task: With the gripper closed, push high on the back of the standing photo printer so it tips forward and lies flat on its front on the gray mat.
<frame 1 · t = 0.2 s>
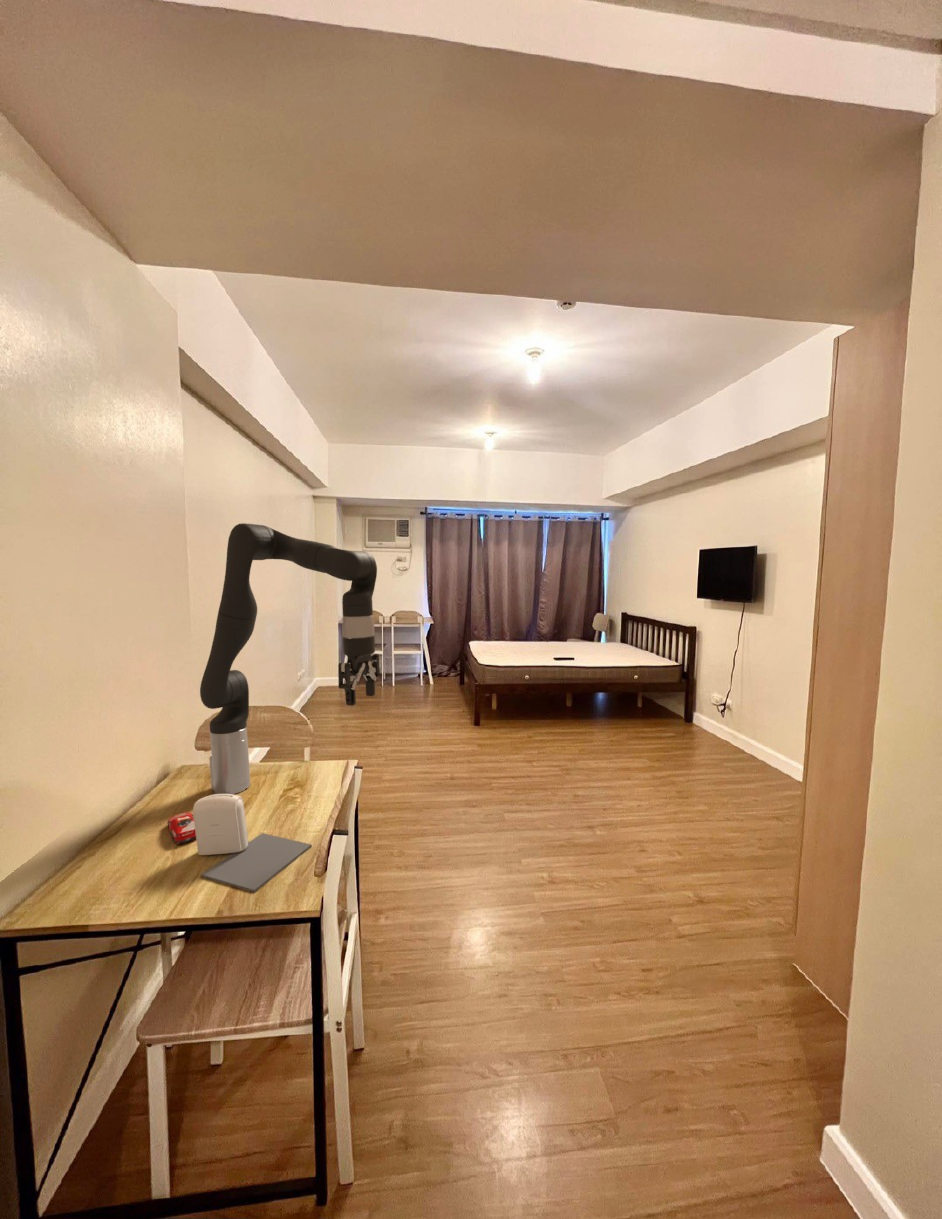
hand: (361, 700, 117), 29 cm above the table, tool pointing down, fingers open, 8 cm apart
race car: (184, 833, 113), on the table
gray mat: (258, 861, 101), on the table
photo printer: (223, 851, 104), on the table, touching gray mat
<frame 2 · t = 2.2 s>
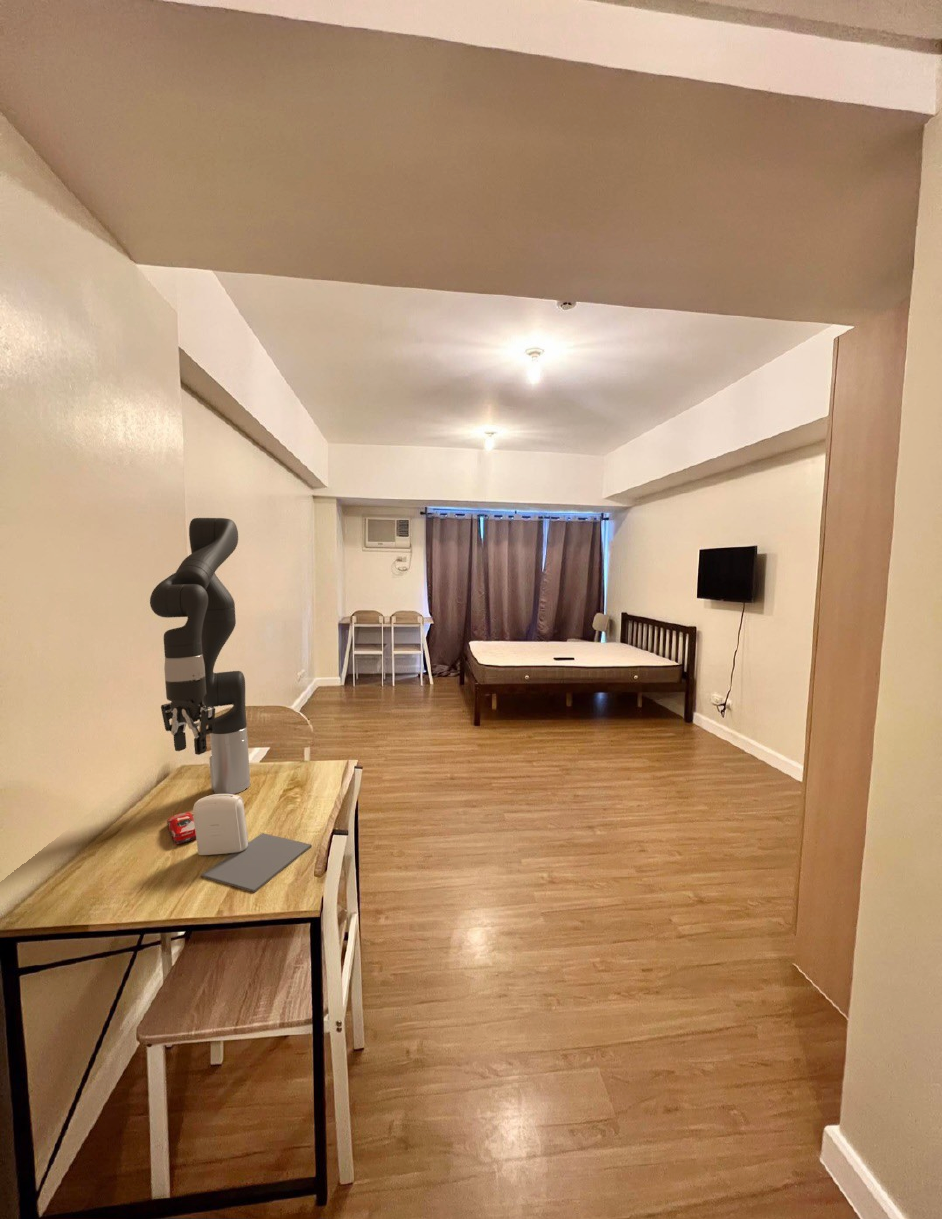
hand: (190, 751, 105), 21 cm above the table, tool pointing down, fingers open, 5 cm apart
nothing on the table moved.
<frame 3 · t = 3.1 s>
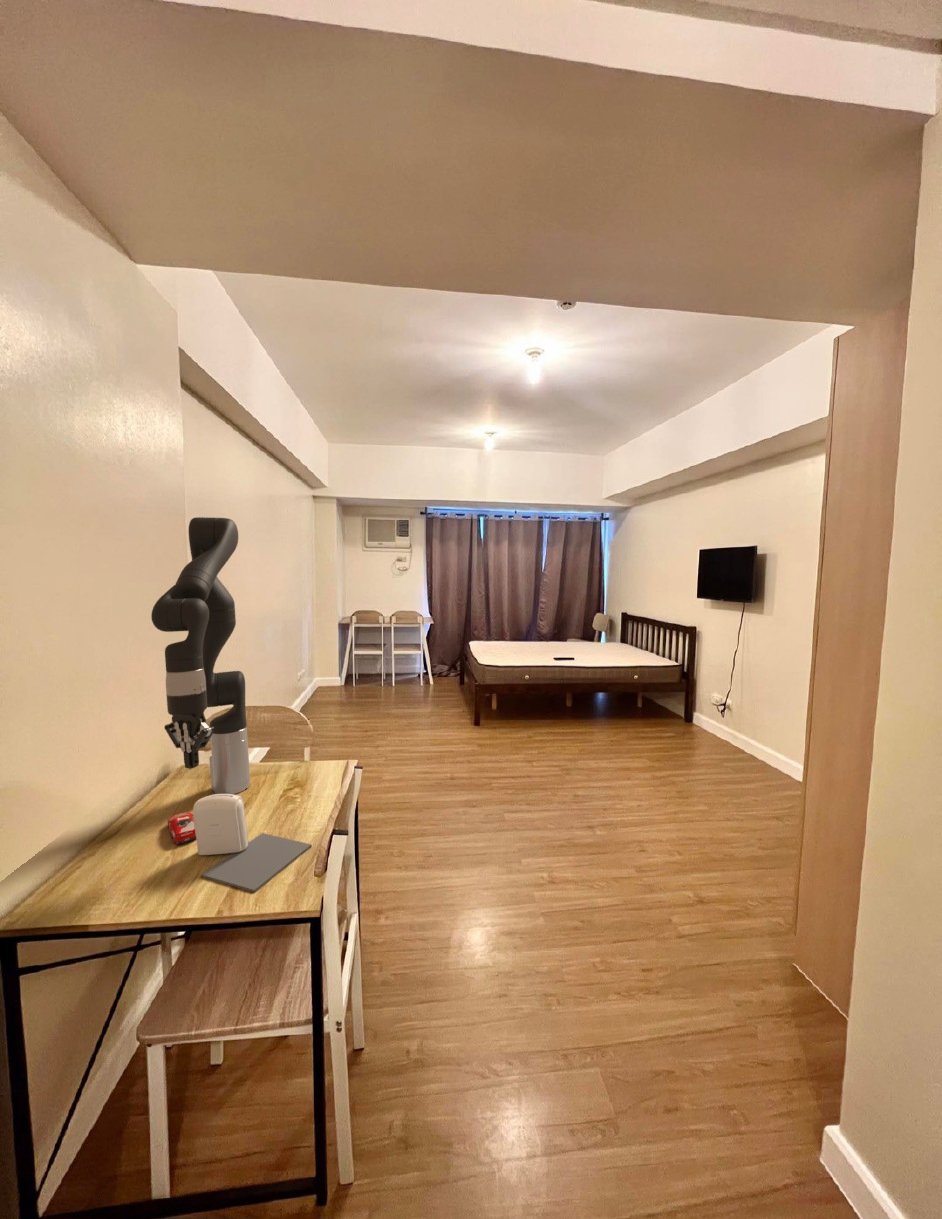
hand: (192, 767, 106), 18 cm above the table, tool pointing down, fingers closed
nothing on the table moved.
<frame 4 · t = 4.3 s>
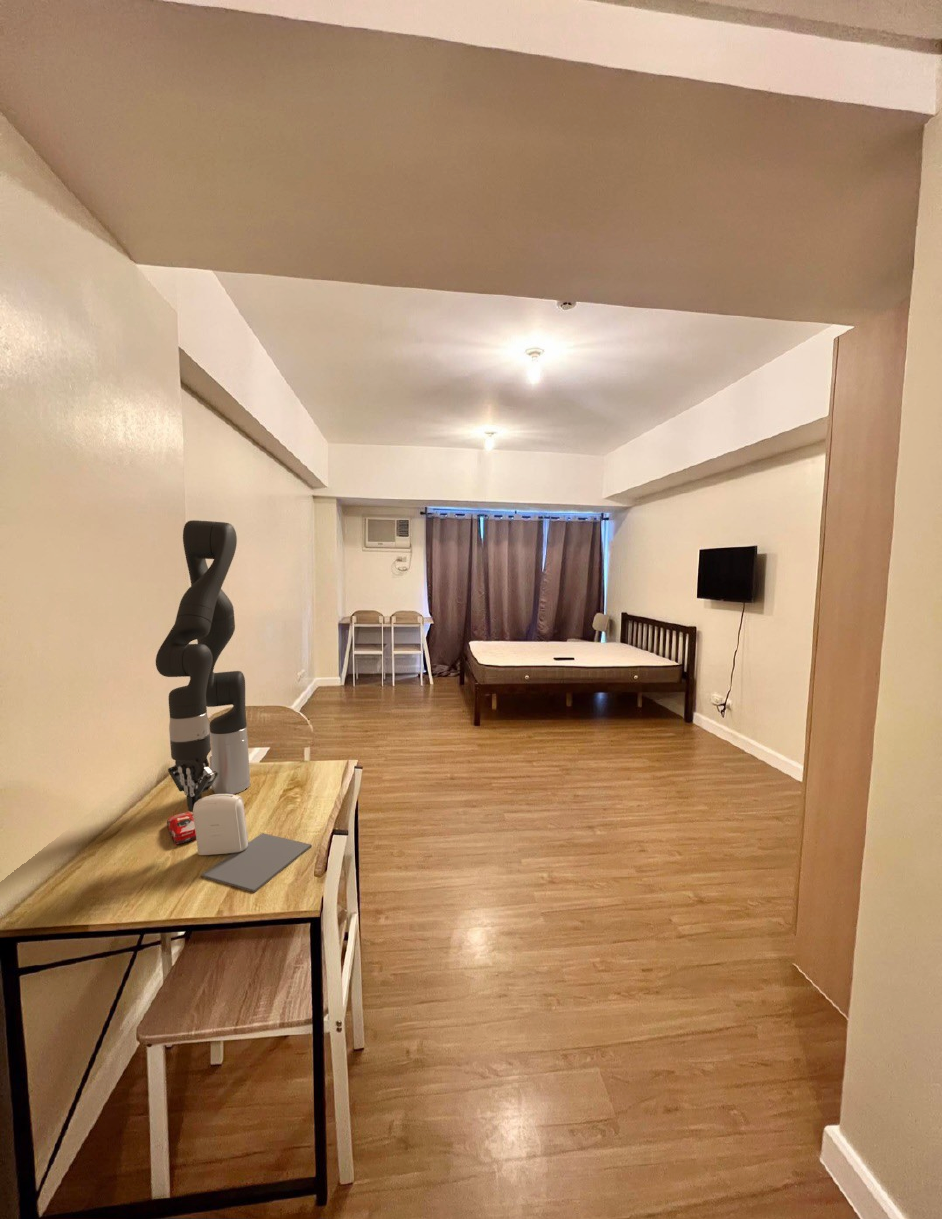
hand: (195, 810, 106), 8 cm above the table, tool pointing down, fingers closed
photo printer: (223, 851, 104), on the table, touching gray mat, gripper
everything else where it was.
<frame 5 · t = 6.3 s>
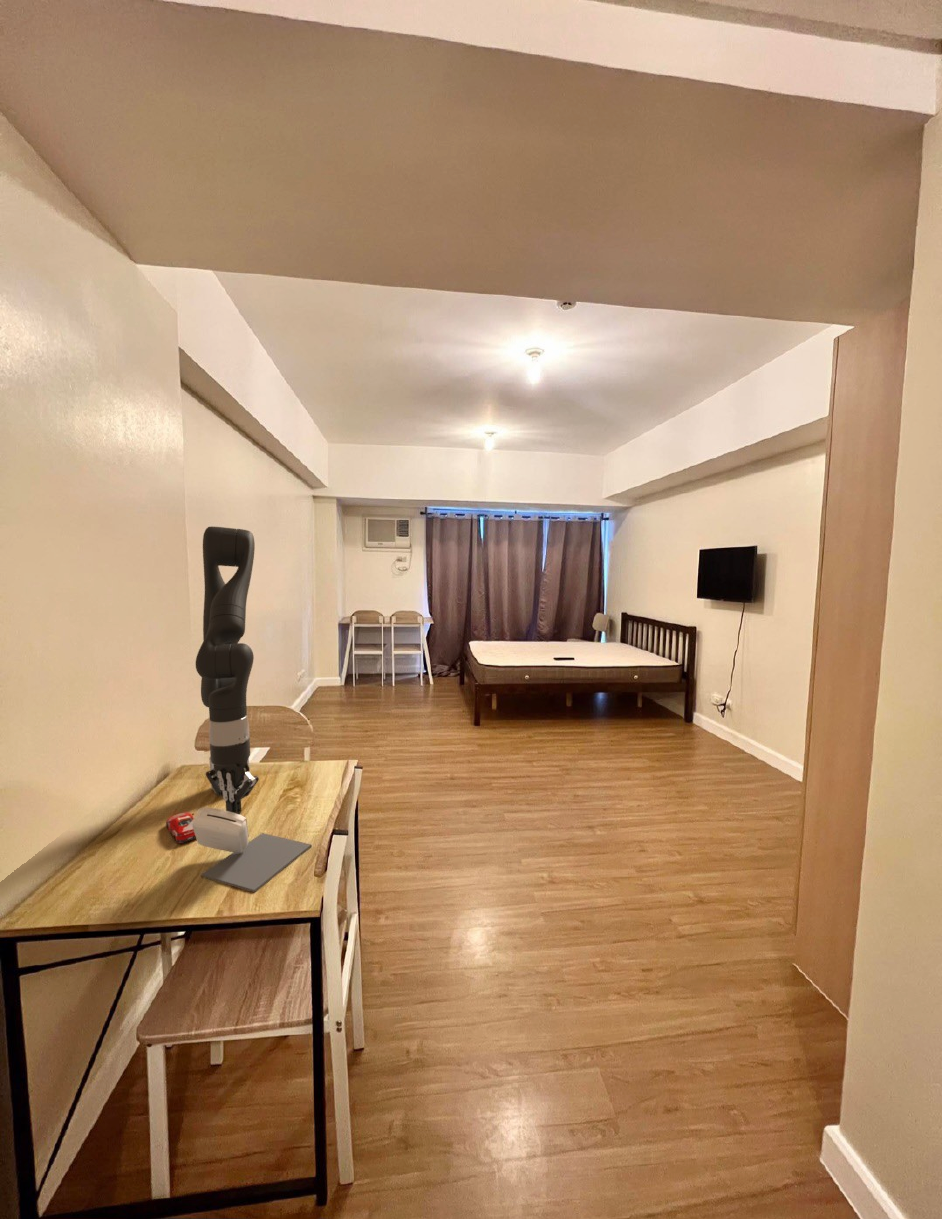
hand: (234, 815, 103), 9 cm above the table, tool pointing down, fingers closed
photo printer: (223, 841, 103), point 3 cm above the table, touching gray mat
everything else where it was.
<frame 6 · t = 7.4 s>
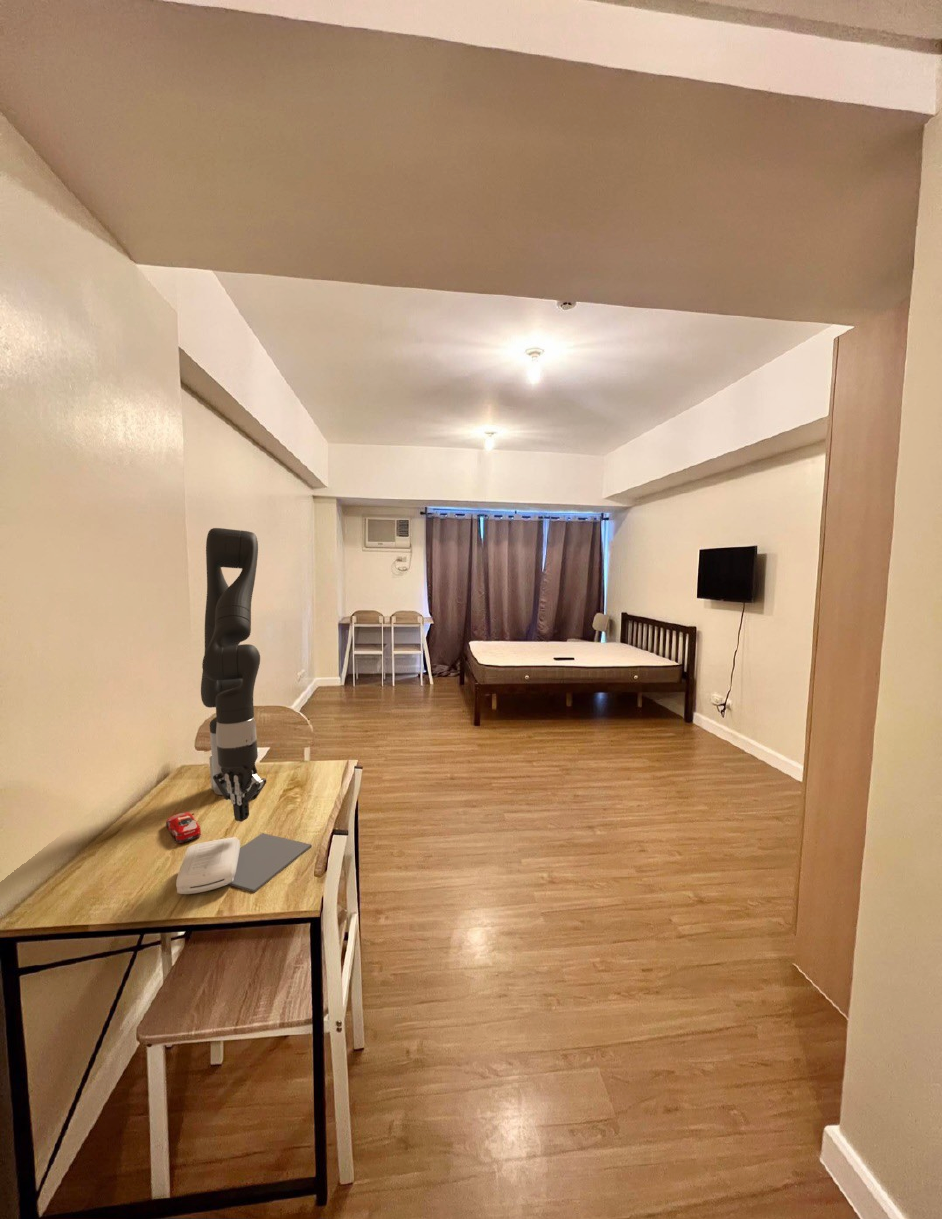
hand: (241, 819, 101), 8 cm above the table, tool pointing down, fingers closed
photo printer: (213, 848, 101), point 3 cm above the table, touching gray mat
everything else where it was.
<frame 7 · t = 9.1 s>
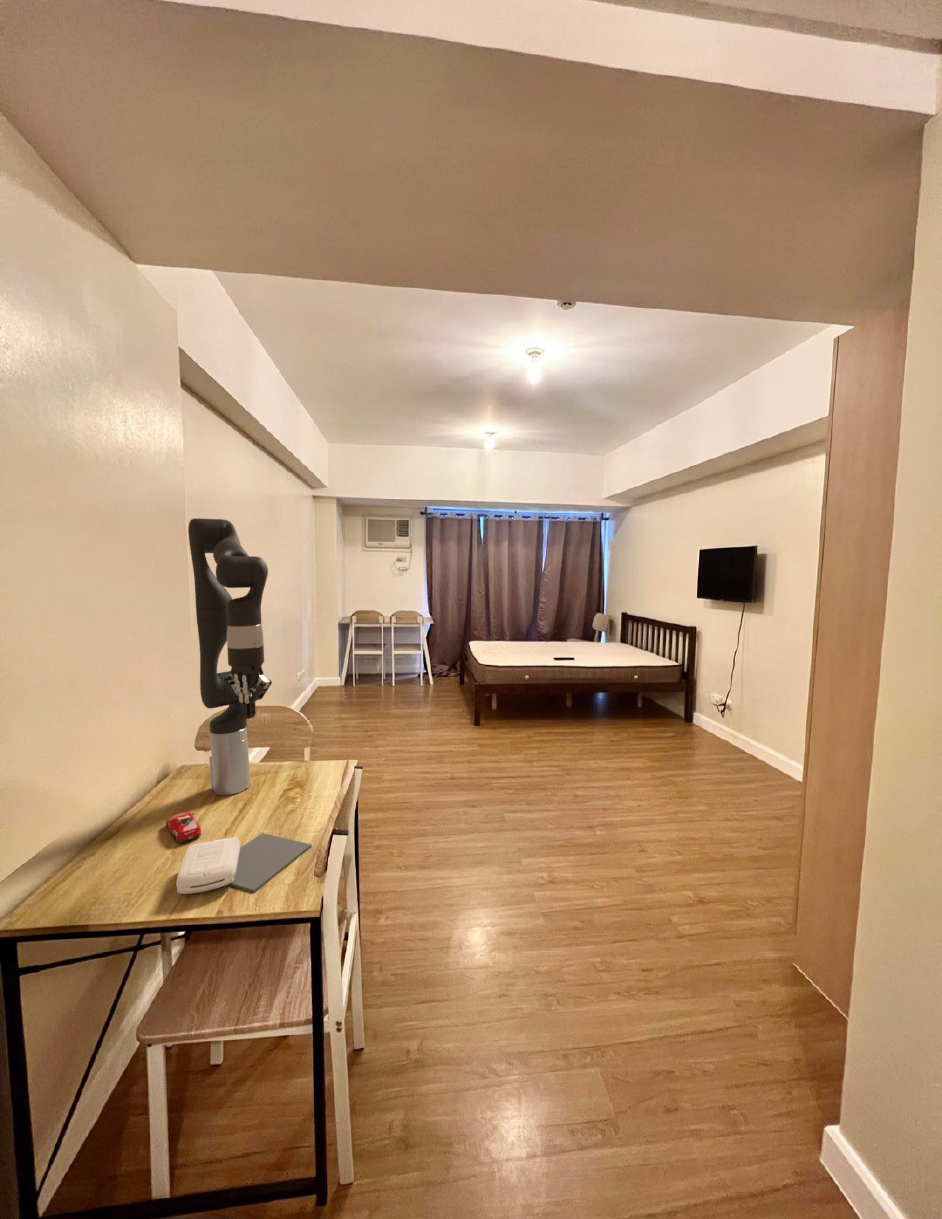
hand: (248, 717, 111), 27 cm above the table, tool pointing down, fingers closed
nothing on the table moved.
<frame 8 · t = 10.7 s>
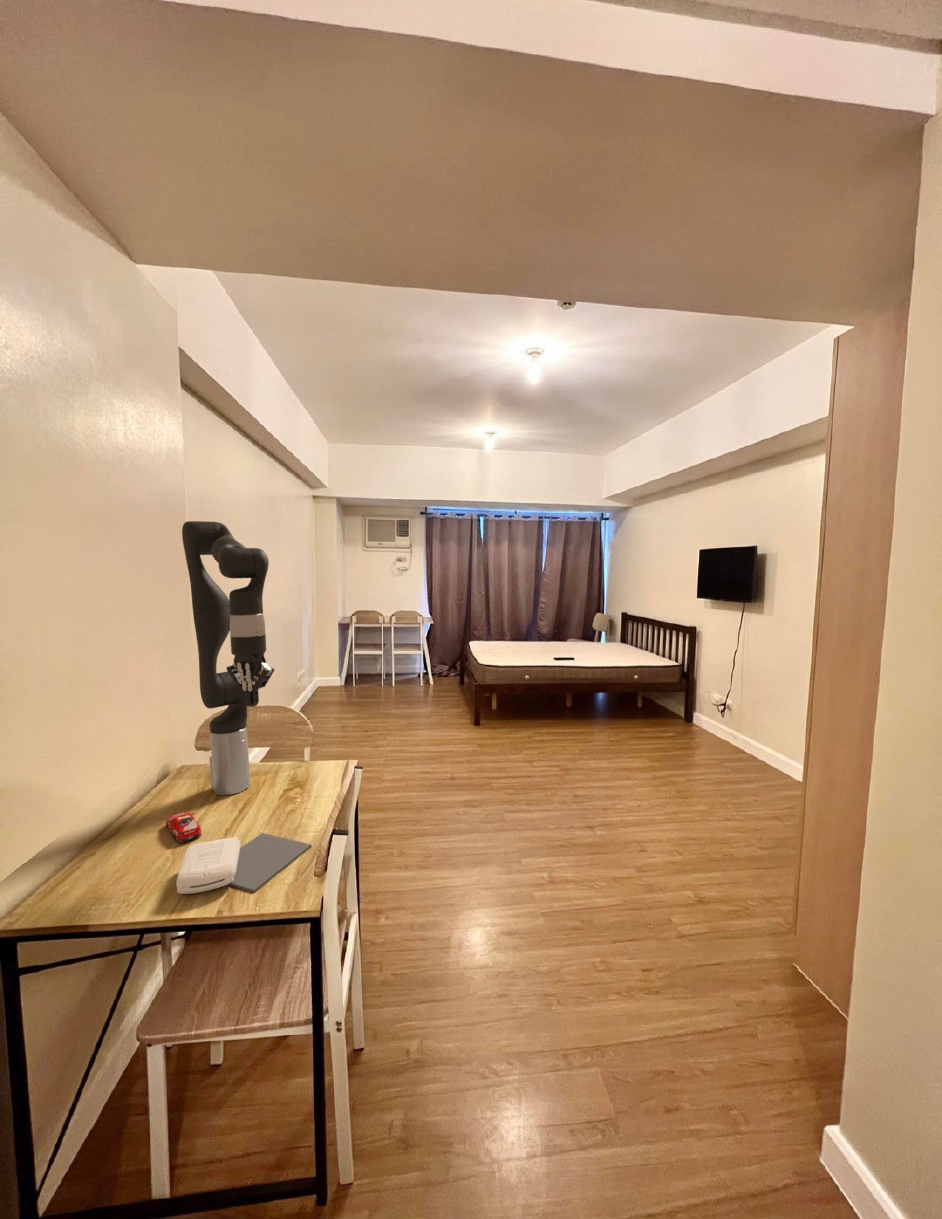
hand: (252, 705, 114), 29 cm above the table, tool pointing down, fingers closed
nothing on the table moved.
at the end: photo printer tilted 92°; photo printer touching gray mat; the gripper is holding nothing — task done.
